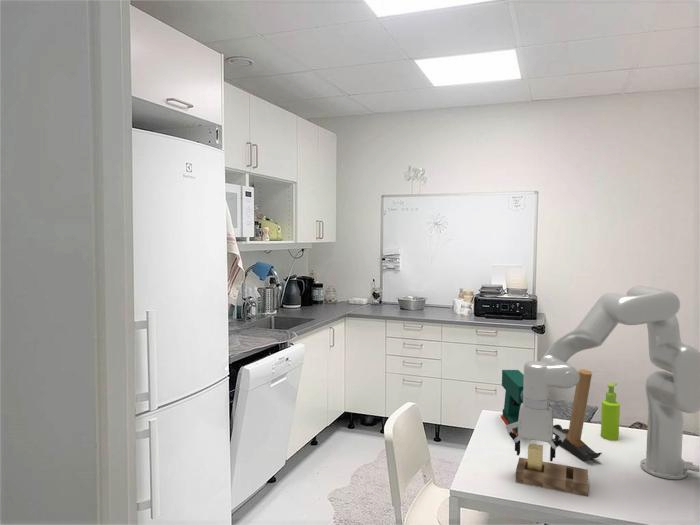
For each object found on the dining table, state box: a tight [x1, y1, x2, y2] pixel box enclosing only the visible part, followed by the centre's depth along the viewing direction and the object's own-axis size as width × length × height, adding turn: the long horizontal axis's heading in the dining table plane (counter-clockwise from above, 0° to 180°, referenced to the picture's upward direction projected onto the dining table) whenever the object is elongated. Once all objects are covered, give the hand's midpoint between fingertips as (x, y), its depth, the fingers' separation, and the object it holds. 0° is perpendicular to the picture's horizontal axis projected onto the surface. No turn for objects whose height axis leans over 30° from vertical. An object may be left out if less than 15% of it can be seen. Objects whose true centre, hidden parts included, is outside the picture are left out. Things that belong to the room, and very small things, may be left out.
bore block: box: [515, 456, 589, 497], centre depth 154 cm, size 20×10×4 cm, turn 66°
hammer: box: [553, 368, 603, 461], centre depth 172 cm, size 20×5×30 cm, turn 14°
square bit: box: [527, 442, 544, 472], centre depth 156 cm, size 4×4×10 cm
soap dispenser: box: [600, 382, 621, 441], centre depth 186 cm, size 6×7×20 cm
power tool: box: [500, 369, 524, 435], centre depth 189 cm, size 32×7×20 cm, turn 179°
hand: (534, 456), depth 156 cm, fingers open, 9 cm apart
